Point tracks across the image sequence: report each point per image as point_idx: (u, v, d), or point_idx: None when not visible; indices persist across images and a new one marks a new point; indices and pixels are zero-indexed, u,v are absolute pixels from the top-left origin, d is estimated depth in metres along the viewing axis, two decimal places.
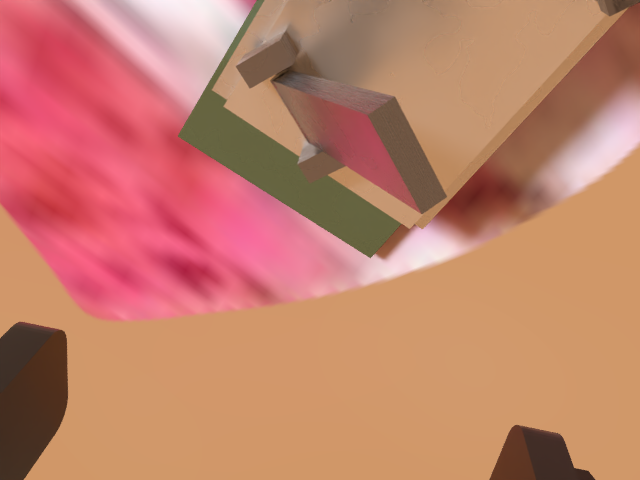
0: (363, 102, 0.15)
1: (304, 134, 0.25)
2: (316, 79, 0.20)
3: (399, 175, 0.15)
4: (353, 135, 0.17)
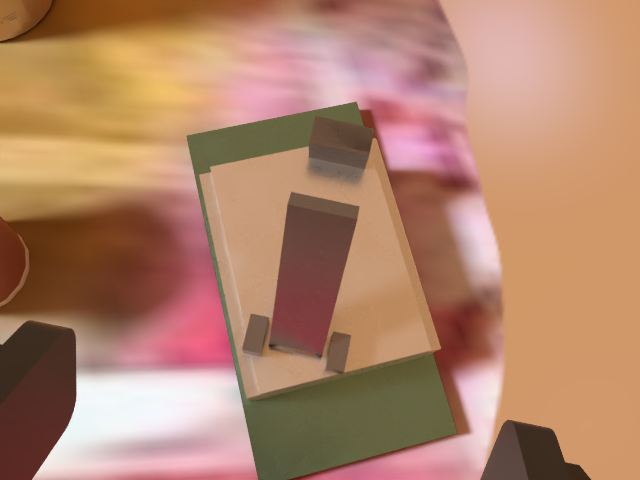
0: None
1: (314, 353, 0.33)
2: None
3: (328, 214, 0.25)
4: (304, 248, 0.27)
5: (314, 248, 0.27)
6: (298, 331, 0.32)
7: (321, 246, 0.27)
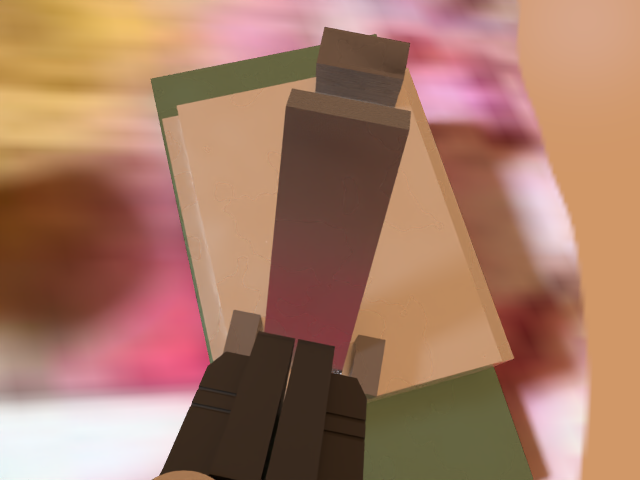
0: (284, 133, 0.15)
1: None
2: None
3: (358, 123, 0.14)
4: (315, 190, 0.16)
5: (332, 191, 0.16)
6: (306, 335, 0.21)
7: (344, 186, 0.16)
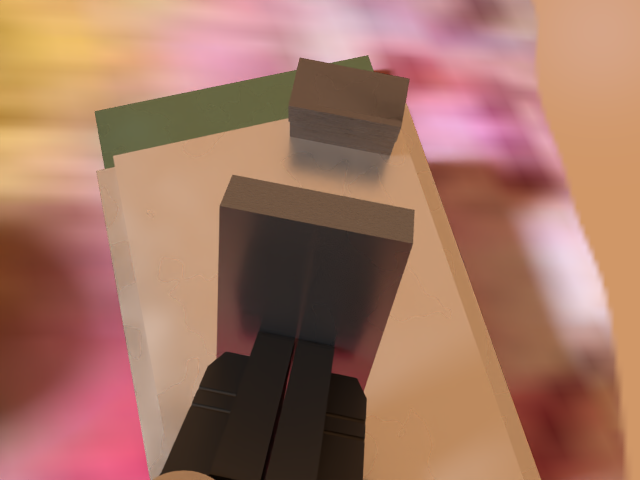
0: None
1: None
2: None
3: (333, 232, 0.09)
4: (273, 319, 0.11)
5: (297, 320, 0.11)
6: None
7: (314, 315, 0.11)
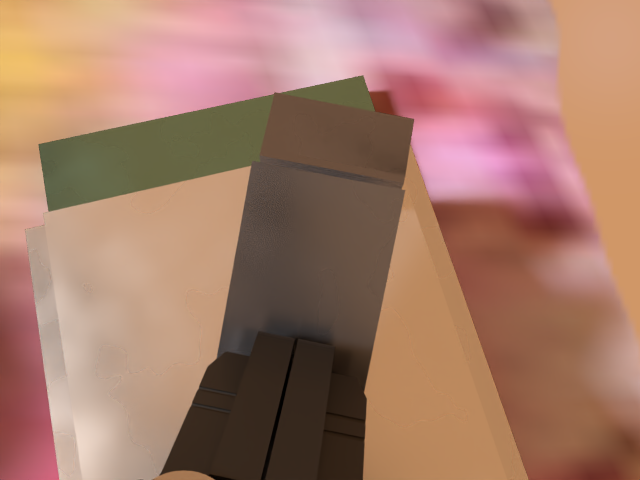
0: (245, 211, 0.12)
1: None
2: None
3: (342, 183, 0.12)
4: (281, 294, 0.12)
5: (304, 294, 0.12)
6: None
7: (320, 285, 0.12)
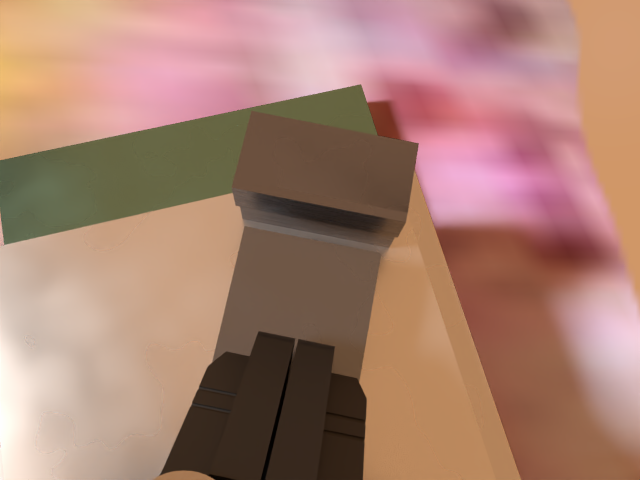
0: (235, 274, 0.13)
1: None
2: None
3: (325, 246, 0.13)
4: None
5: None
6: None
7: (304, 339, 0.12)
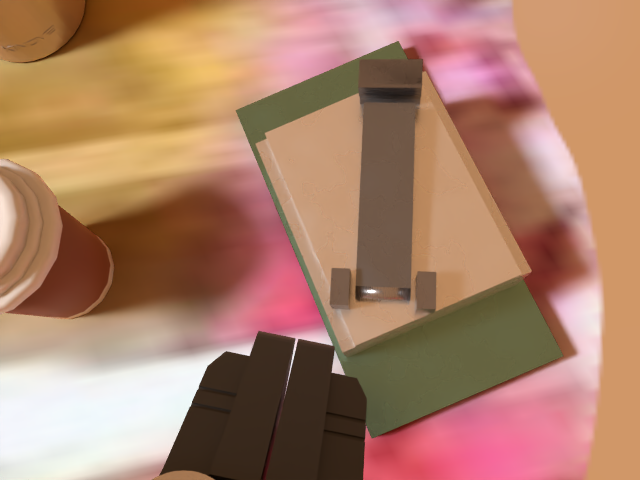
0: (363, 121, 0.35)
1: (402, 287, 0.33)
2: None
3: (394, 104, 0.35)
4: (379, 142, 0.35)
5: (387, 140, 0.35)
6: (383, 255, 0.33)
7: (392, 137, 0.35)
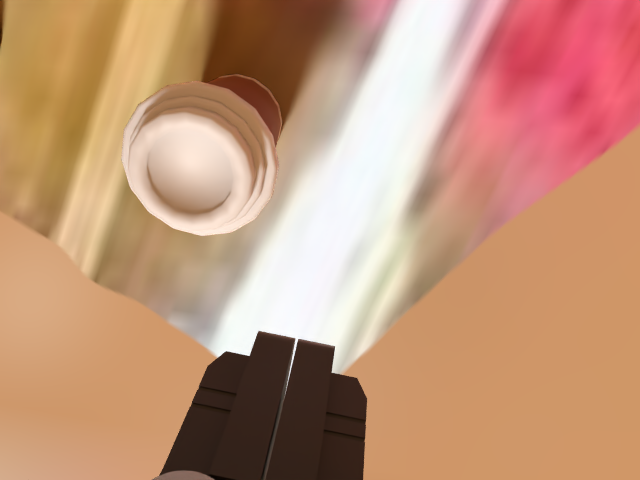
0: None
1: None
2: None
3: None
4: None
5: None
6: None
7: None
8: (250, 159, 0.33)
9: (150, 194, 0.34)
